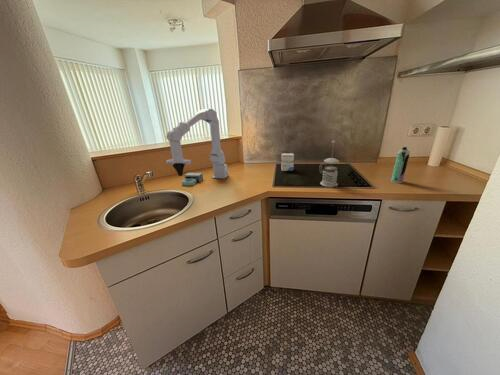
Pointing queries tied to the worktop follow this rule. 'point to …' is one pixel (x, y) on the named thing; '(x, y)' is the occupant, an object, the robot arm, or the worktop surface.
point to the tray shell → (189, 182)
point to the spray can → (400, 165)
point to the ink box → (287, 162)
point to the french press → (331, 179)
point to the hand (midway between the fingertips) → (180, 175)
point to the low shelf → (194, 176)
